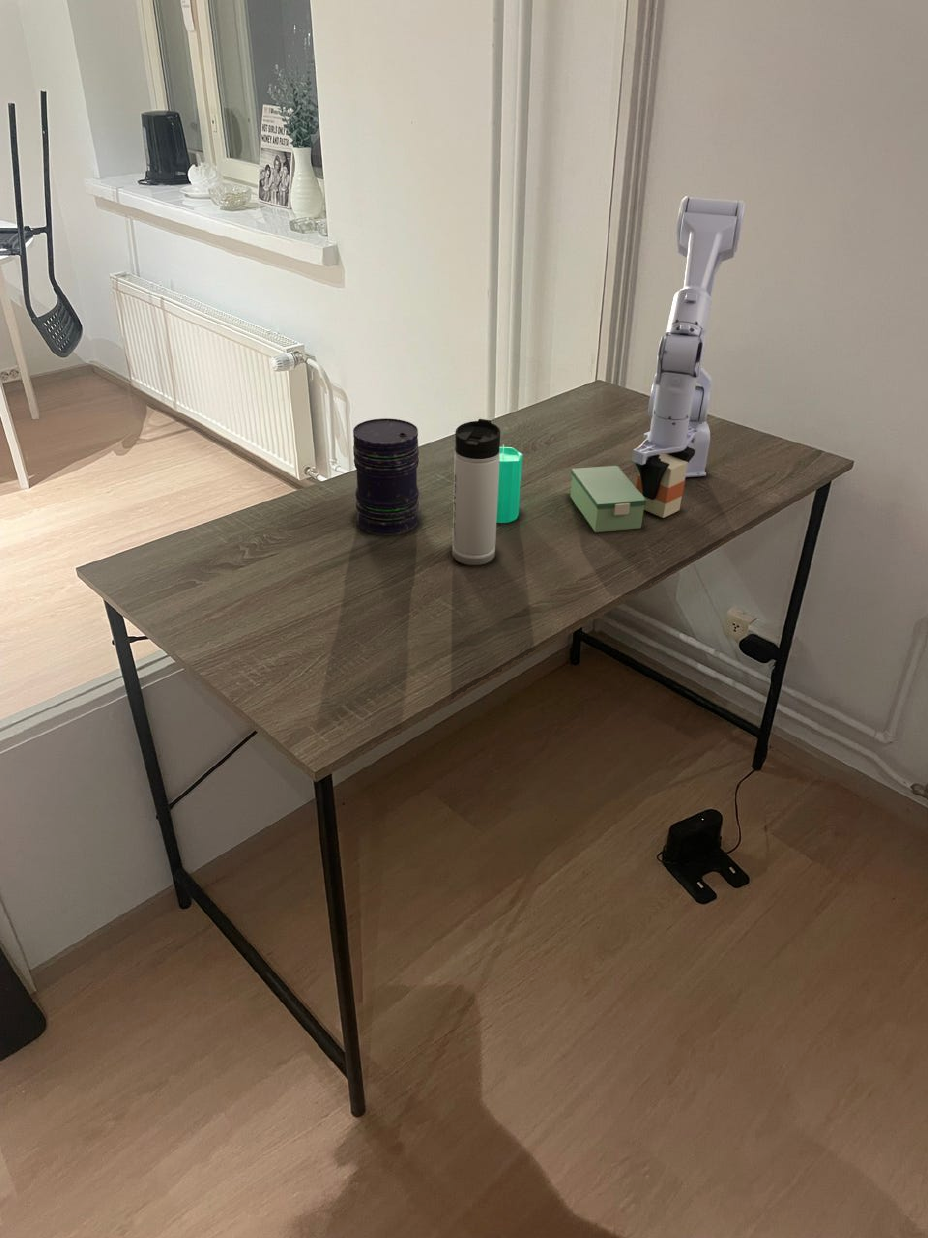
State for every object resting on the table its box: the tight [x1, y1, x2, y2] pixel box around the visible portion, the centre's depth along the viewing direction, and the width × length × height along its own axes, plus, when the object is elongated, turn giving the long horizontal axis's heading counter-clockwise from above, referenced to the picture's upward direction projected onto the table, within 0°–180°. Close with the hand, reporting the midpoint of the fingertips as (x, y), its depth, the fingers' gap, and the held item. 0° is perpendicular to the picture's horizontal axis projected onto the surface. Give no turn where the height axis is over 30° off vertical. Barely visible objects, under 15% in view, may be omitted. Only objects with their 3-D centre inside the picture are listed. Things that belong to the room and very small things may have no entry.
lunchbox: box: [570, 465, 647, 533], centre depth 146 cm, size 8×14×5 cm, turn 12°
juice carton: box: [635, 454, 688, 519], centre depth 147 cm, size 4×6×8 cm
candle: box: [496, 443, 523, 524], centre depth 142 cm, size 6×6×12 cm
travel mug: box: [452, 418, 501, 566], centre depth 129 cm, size 6×7×20 cm
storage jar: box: [352, 417, 420, 536], centre depth 139 cm, size 10×10×15 cm
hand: (658, 493), depth 148 cm, fingers closed on juice carton, 4 cm apart
